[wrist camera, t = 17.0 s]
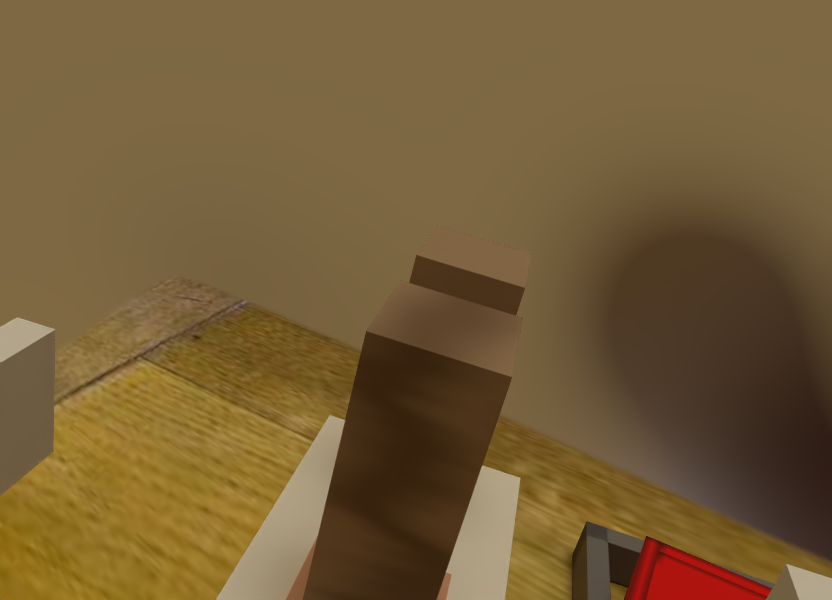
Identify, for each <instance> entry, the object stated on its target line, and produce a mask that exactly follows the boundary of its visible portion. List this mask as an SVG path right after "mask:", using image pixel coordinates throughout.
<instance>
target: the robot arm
mask: <svg viewBox="0 0 832 600" xmlns="http://www.w3.org/2000/svg"><path fill="white" fill-rule="evenodd" d="M54 376H55V329H52V328H49V327H45V326H43V325H40V324H36V323H33V322H30V321H27V320H24V319H21V318H16V319H14V320H12V321H10V322H8V323H6V324H5V325H3V326H1V327H0V496H1V495H2V494H3V493H4V492H5V491H7V490H8V489H9V488H10V487H11V486H13V485H14V484H15V483H16V482H17V481H19V480H20V479H21V478H22V477H23V476H25V475H26V474H27V473H28V472H29V471H31V470H32V469H33V468H34V467H35V466H37V465H38V464H39V463H40V462H41V461H43V460H44V459H45V458H46V457H47V456H49V455H50V454H51V453H52V452H53V435H54ZM766 600H832V578H828V577H825V576H822V575H819V574H816V573H813V572H810V571H807V570H803V569H800V568H797V567H794V566H791V565H788V564H786V566H785V567H784V569H783V571H782V573H781V574H780V576H779V578H778V580H777V581H776V583H775V585H774V587H773V588H772V590H771V592H770V593H769V595H768V597H767V599H766Z"/></svg>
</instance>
